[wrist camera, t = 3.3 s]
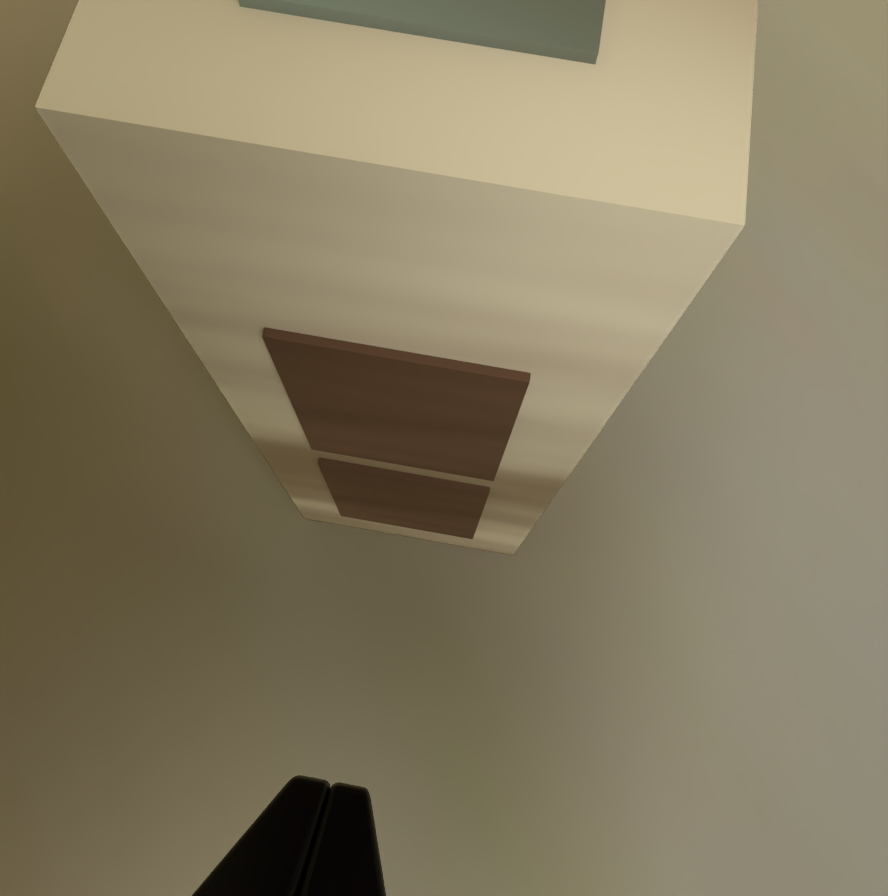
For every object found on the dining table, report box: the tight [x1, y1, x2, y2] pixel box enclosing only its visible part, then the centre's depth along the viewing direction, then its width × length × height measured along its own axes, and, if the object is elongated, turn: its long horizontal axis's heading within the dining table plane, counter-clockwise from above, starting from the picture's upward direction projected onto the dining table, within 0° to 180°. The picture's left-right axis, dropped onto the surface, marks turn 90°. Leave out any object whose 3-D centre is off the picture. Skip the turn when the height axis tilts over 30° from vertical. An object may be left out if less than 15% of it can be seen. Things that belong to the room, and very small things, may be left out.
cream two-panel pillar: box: [35, 0, 758, 555], centre depth 11 cm, size 5×4×12 cm
